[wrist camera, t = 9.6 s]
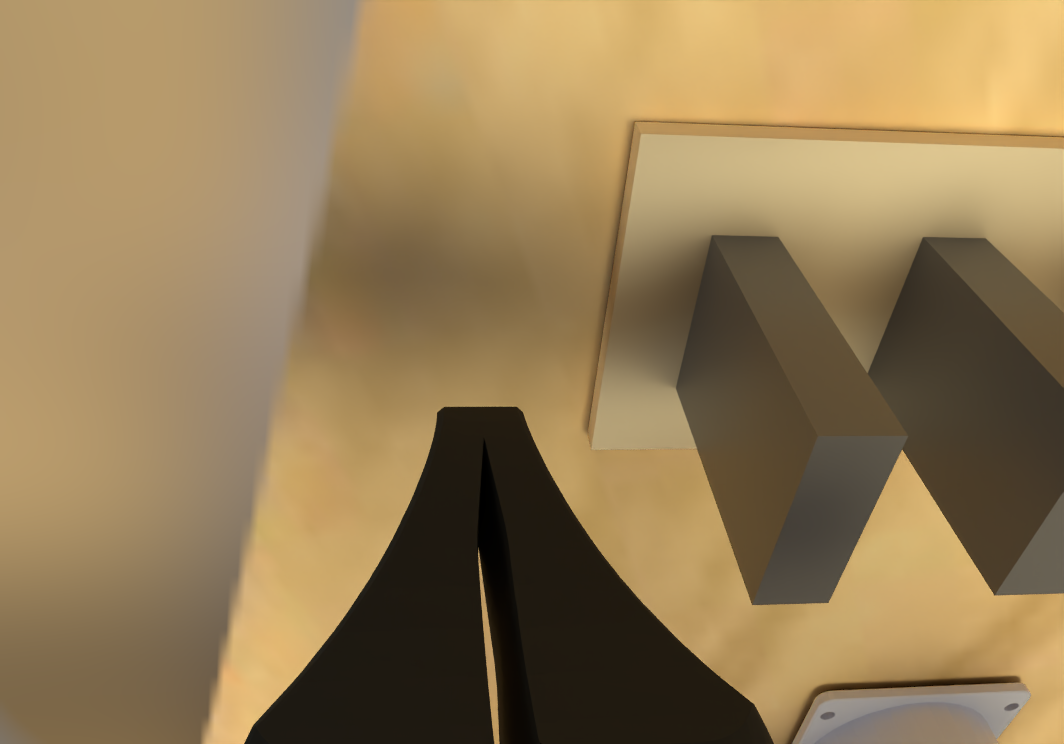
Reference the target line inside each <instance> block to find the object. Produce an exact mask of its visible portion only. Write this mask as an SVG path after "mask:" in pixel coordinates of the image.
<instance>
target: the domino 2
mask: <svg viewBox="0 0 1064 744" xmlns="http://www.w3.org/2000/svg"><path fill="white" fill-rule="evenodd" d="M868 375H869V376H870V378H871V380H872V381H873V383H874V384H875V386H876V387H877V389H878V390H879V392H880V393H881V395H882V396H883V398H884V399H885V401H886V403H887V404H888V406H889V407H890V409H891V410H892V412H893V413H894V415H895V416H896V418H897V419H898V421H899V422H900V424H901V425H902V427H903V429H904V430H905V432H906V433H907V435H908V438H907V440H906V442H905V444H904V446H903V448H902V450H903V451H904V453H905V454H906V456H907V458H908V459H909V461H910V462H911V464H912V466H913V467H914V469H915V470H916V472H917V473H918V475H919V477H920V478H921V480H922V481H923V483H924V485H925V486H926V488H927V489H928V491H929V492H930V494H931V496H932V497H933V499H934V500H935V502H936V503H937V505H938V507H939V508H940V510H941V511H942V513H943V515H944V516H945V518H946V519H947V521H948V522H949V524H950V526H951V527H952V529H953V530H954V532H955V534H956V535H957V537H958V538H959V540H960V541H961V543H962V545H963V546H964V548H965V549H966V551H967V553H968V554H969V556H970V557H971V559H972V560H973V562H974V564H975V565H976V567H977V568H978V570H979V571H980V573H981V575H982V576H983V578H984V579H985V581H986V583H987V584H988V586H989V587H990V589H991V590H992V592H993V594H994V595H1023V594H1056V593H1064V313H1063V312H1062V311H1061V310H1060V309H1059V308H1058V307H1057V306H1056V305H1055V304H1054V303H1053V302H1052V301H1051V300H1050V299H1049V298H1048V297H1047V296H1046V295H1045V294H1044V293H1043V292H1042V291H1040V290H1039V289H1038V288H1037V287H1036V286H1035V285H1034V284H1033V283H1032V282H1031V281H1030V280H1029V279H1028V278H1027V277H1026V276H1025V275H1024V274H1023V273H1022V272H1021V271H1020V270H1018V269H1017V268H1016V267H1015V266H1014V265H1013V264H1012V263H1011V262H1010V261H1009V260H1008V259H1007V258H1006V257H1005V256H1004V255H1003V254H1002V253H1001V252H1000V251H999V250H998V249H996V248H995V247H994V246H993V245H992V244H991V243H990V242H989V241H988V240H987V239H986V238H950V237H923V238H922V241H921V243H920V246H919V248H918V251H917V253H916V256H915V258H914V260H913V263H912V265H911V268H910V270H909V273H908V275H907V278H906V280H905V283H904V285H903V288H902V290H901V292H900V295H899V297H898V300H897V302H896V305H895V307H894V310H893V312H892V315H891V317H890V319H889V322H888V324H887V327H886V329H885V332H884V334H883V337H882V339H881V342H880V344H879V347H878V349H877V351H876V354H875V356H874V359H873V361H872V364H871V366H870V369H869V371H868Z"/></svg>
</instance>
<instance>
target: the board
mask: <svg viewBox="0 0 1064 744" xmlns="http://www.w3.org/2000/svg"><path fill="white" fill-rule="evenodd" d="M712 235H730V236H768V237H779V239H780V240H781V242H782V243H783V245H784V246H785V248H786V249H787V251H788V252H789V254H790V255H791V257H792V258H793V260H794V262H795V263H796V265H797V266H798V268H799V269H800V271H801V272H802V274H803V275H804V277H805V278H806V280H807V281H808V283H809V285H810V286H811V288H812V289H813V291H814V292H815V294H816V295H817V297H818V298H819V300H820V301H821V303H822V304H823V306H824V308H825V309H826V311H827V312H828V314H829V315H830V317H831V318H832V320H833V321H834V323H835V324H836V326H837V327H838V329H839V330H840V332H841V334H842V335H843V337H844V338H845V340H846V341H847V343H848V344H849V346H850V347H851V349H852V350H853V352H854V353H855V355H856V357H857V358H858V360H859V361H860V363H861V364H862V366H863V367H864V369H865V370H866V372H867V373H868V371H869V369H870V366H871V364H872V361H873V359H874V356H875V354H876V351H877V349H878V347H879V344H880V342H881V339H882V337H883V334H884V332H885V329H886V327H887V324H888V322H889V319H890V317H891V315H892V312H893V310H894V307H895V305H896V302H897V300H898V297H899V295H900V292H901V290H902V288H903V285H904V283H905V280H906V278H907V275H908V273H909V270H910V268H911V265H912V263H913V260H914V258H915V256H916V253H917V251H918V248H919V246H920V243H921V241H922V238H923V237H950V238H986V239H987V240H988V241H989V242H990V243H991V244H992V245H993V246H994V247H995V248H996V249H998V250H999V251H1000V252H1001V253H1002V254H1003V255H1004V256H1005V257H1006V258H1007V259H1008V260H1009V261H1010V262H1011V263H1012V264H1013V265H1014V266H1015V267H1016V268H1017V269H1018V270H1020V271H1021V272H1022V273H1023V274H1024V275H1025V276H1026V277H1027V278H1028V279H1029V280H1030V281H1031V282H1032V283H1033V284H1034V285H1035V286H1036V287H1037V288H1038V289H1039V290H1040V291H1042V292H1043V293H1044V294H1045V295H1046V296H1047V297H1048V298H1049V299H1050V300H1051V301H1052V302H1053V303H1054V304H1055V305H1056V306H1057V307H1058V308H1059V309H1060V310H1061V311H1062V312H1063V313H1064V137H1042V136H1015V135H988V134H960V133H933V132H906V131H879V130H852V129H825V128H798V127H771V126H744V125H717V124H690V123H663V122H636V121H635V126H634V132H633V139H632V145H631V152H630V159H629V165H628V172H627V178H626V185H625V191H624V198H623V205H622V211H621V218H620V224H619V231H618V237H617V244H616V251H615V257H614V264H613V270H612V277H611V283H610V290H609V296H608V303H607V310H606V316H605V323H604V329H603V336H602V342H601V349H600V356H599V362H598V369H597V375H596V382H595V388H594V395H593V402H592V408H591V415H590V421H589V428H588V437H589V442H590V447H591V450H646V449H697V447H696V444H695V441H694V439H693V436H692V433H691V430H690V427H689V424H688V422H687V419H686V416H685V413H684V410H683V407H682V405H681V402H680V399H679V396H678V393H677V390H676V385H677V381H678V377H679V372H680V368H681V364H682V360H683V355H684V351H685V347H686V343H687V339H688V334H689V330H690V326H691V322H692V317H693V313H694V309H695V305H696V300H697V296H698V292H699V288H700V284H701V279H702V275H703V271H704V267H705V262H706V258H707V254H708V250H709V245H710V241H711V237H712Z"/></svg>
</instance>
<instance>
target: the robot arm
mask: <svg viewBox="0 0 1064 744" xmlns="http://www.w3.org/2000/svg"><path fill="white" fill-rule="evenodd" d="M478 548H479V554H480V561H481V568H482V576H483V583H484V590H485V597H486V605H487V612H488V619H489V626H490V633H491V640H492V647H493V655H494V662H495V671H496V682H497V696H498V719H499V741H500V744H774V743H773V741H772V739H771V736H770V734H769V732H768V730H767V728H766V726H765V724H764V722H763V720H762V718H761V716H760V714H759V712H758V711H757V709H756V707H755V705H754V704H753V703H752V702H750V701H749V700H748V699H747V698H745V697H744V696H743V695H742V694H740V693H739V692H738V691H737V690H735V689H734V688H733V687H732V686H730V685H729V684H728V683H726V682H725V681H724V680H723V679H722V678H720V677H719V676H718V675H717V674H716V673H714V672H713V671H712V670H711V669H710V668H709V667H707V666H706V665H705V664H704V663H703V662H702V661H701V660H700V659H699V658H697V657H696V656H695V655H694V654H693V653H692V652H691V651H690V650H689V649H688V648H687V647H685V646H684V645H683V644H682V643H681V642H680V641H679V640H678V639H677V638H676V637H675V636H674V635H673V634H672V633H671V632H670V631H669V630H668V629H667V628H666V627H665V626H664V625H663V624H662V623H661V622H660V621H659V620H658V619H657V618H656V616H655V615H654V614H653V613H652V612H651V611H650V610H649V609H648V608H647V607H646V606H645V605H644V604H643V603H642V602H641V601H640V600H639V599H638V598H637V596H636V595H635V594H634V593H633V592H632V591H631V589H630V588H629V587H628V586H627V585H626V584H625V582H624V581H623V580H622V579H621V578H620V577H619V575H618V574H617V573H616V571H615V570H614V569H613V568H612V566H611V565H610V564H609V563H608V561H607V560H606V559H605V558H604V556H603V555H602V554H601V552H600V551H599V550H598V548H597V547H596V545H595V544H594V543H593V541H592V540H591V538H590V537H589V536H588V534H587V533H586V531H585V530H584V528H583V527H582V525H581V524H580V522H579V521H578V519H577V518H576V516H575V515H574V513H573V512H572V510H571V508H570V507H569V505H568V504H567V502H566V500H565V499H564V497H563V495H562V493H561V492H560V490H559V488H558V486H557V485H556V483H555V481H554V480H553V478H552V476H551V474H550V472H549V471H548V469H547V467H546V465H545V463H544V461H543V459H542V457H541V455H540V453H539V451H538V449H537V447H536V445H535V442H534V440H533V438H532V436H531V433H530V431H529V428H528V426H527V423H526V421H525V418H524V414H523V412H522V411H521V410H520V409H519V408H518V407H444V408H442V409H441V410H440V411H439V412H437V423H436V428H435V433H434V438H433V442H432V445H431V449H430V452H429V455H428V458H427V461H426V464H425V467H424V469H423V472H422V475H421V477H420V480H419V482H418V485H417V487H416V490H415V492H414V495H413V497H412V500H411V502H410V504H409V506H408V508H407V510H406V512H405V514H404V516H403V519H402V521H401V523H400V525H399V527H398V529H397V531H396V533H395V535H394V537H393V539H392V541H391V543H390V545H389V546H388V548H387V550H386V552H385V554H384V555H383V557H382V559H381V561H380V562H379V564H378V566H377V567H376V569H375V571H374V572H373V574H372V576H371V577H370V579H369V581H368V582H367V584H366V585H365V587H364V588H363V590H362V592H361V593H360V595H359V596H358V598H357V599H356V601H355V602H354V604H353V605H352V607H351V608H350V610H349V611H348V613H347V614H346V615H345V617H344V618H343V620H342V621H341V622H340V624H339V625H338V626H337V628H336V629H335V631H334V632H333V633H332V634H331V636H330V637H329V638H328V639H327V641H326V642H325V643H324V645H323V646H322V647H321V648H320V650H319V651H318V652H317V653H316V655H315V656H314V657H313V658H312V660H311V661H310V662H309V663H308V665H307V666H306V667H305V669H304V670H303V671H302V672H301V673H300V674H299V676H298V677H297V678H296V679H295V680H294V681H293V683H292V684H291V685H290V686H289V687H288V688H287V689H286V690H285V691H284V692H283V693H282V695H281V696H280V697H279V698H278V699H277V700H276V701H275V702H274V703H273V704H272V705H271V707H270V708H269V709H268V710H267V711H266V712H265V713H264V714H263V715H262V716H261V717H260V718H259V720H258V721H257V722H256V723H255V724H254V725H253V727H252V729H251V731H250V733H249V735H248V737H247V739H246V741H245V743H244V744H494V738H493V729H492V719H491V709H490V699H489V689H488V679H487V667H486V656H485V644H484V632H483V620H482V606H481V593H480V579H479V564H478ZM1030 696H1031V694H1030V691H1029V690H1028V688H1027V686H1026V685H1025V684H1023V683H1017V682H1016V683H994V684H971V685H948V686H925V687H903V688H880V689H857V690H834V691H826V692H823V693H821V694H819V695H818V696H817V697H816V698H815V700H814V702H813V704H812V706H811V708H810V709H809V711H808V713H807V715H806V717H805V719H804V721H803V723H802V725H801V727H800V729H799V731H798V733H797V735H796V737H795V739H794V741H793V743H792V744H999V743H998V741H997V738H998V737H999V736H1000V735H1001V733H1002V732H1003V731H1004V730H1005V728H1006V727H1007V726H1008V725H1009V723H1010V722H1011V721H1012V720H1013V718H1014V717H1015V716H1016V715H1017V713H1018V712H1019V711H1020V710H1021V708H1022V707H1023V706H1024V705H1025V704H1026V702H1027V701H1028V700H1029V698H1030Z"/></svg>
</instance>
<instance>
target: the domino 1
mask: <svg viewBox="0 0 1064 744" xmlns="http://www.w3.org/2000/svg"><path fill="white" fill-rule="evenodd" d="M676 390H677V393H678V396H679V399H680V402H681V405H682V407H683V410H684V413H685V416H686V419H687V422H688V424H689V427H690V430H691V433H692V436H693V439H694V441H695V444H696V447H697V450H698V453H699V456H700V458H701V461H702V464H703V467H704V470H705V473H706V475H707V478H708V481H709V484H710V487H711V490H712V492H713V495H714V498H715V501H716V504H717V507H718V509H719V512H720V515H721V518H722V521H723V523H724V526H725V529H726V532H727V535H728V538H729V540H730V543H731V546H732V549H733V552H734V555H735V557H736V560H737V563H738V566H739V569H740V572H741V574H742V577H743V580H744V583H745V586H746V589H747V591H748V594H749V597H750V600H751V603H752V605H770V604H806V603H828V602H829V600H830V598H831V596H832V594H833V592H834V590H835V588H836V586H837V584H838V582H839V580H840V577H841V575H842V573H843V571H844V569H845V567H846V565H847V563H848V561H849V559H850V557H851V554H852V552H853V550H854V548H855V546H856V544H857V542H858V540H859V538H860V536H861V534H862V532H863V529H864V527H865V525H866V523H867V521H868V519H869V517H870V515H871V513H872V511H873V509H874V507H875V504H876V502H877V500H878V498H879V496H880V494H881V492H882V490H883V488H884V486H885V484H886V482H887V479H888V477H889V475H890V473H891V471H892V469H893V467H894V465H895V463H896V461H897V459H898V456H899V454H900V452H901V450H902V448H903V446H904V444H905V442H906V440H907V438H908V435H907V433H906V432H905V430H904V429H903V427H902V425H901V424H900V422H899V421H898V419H897V418H896V416H895V415H894V413H893V412H892V410H891V409H890V407H889V406H888V404H887V403H886V401H885V399H884V398H883V396H882V395H881V393H880V392H879V390H878V389H877V387H876V386H875V384H874V383H873V381H872V380H871V378H870V376H869V375H868V373H867V372H866V370H865V369H864V367H863V366H862V364H861V363H860V361H859V360H858V358H857V357H856V355H855V353H854V352H853V350H852V349H851V347H850V346H849V344H848V343H847V341H846V340H845V338H844V337H843V335H842V334H841V332H840V330H839V329H838V327H837V326H836V324H835V323H834V321H833V320H832V318H831V317H830V315H829V314H828V312H827V311H826V309H825V308H824V306H823V304H822V303H821V301H820V300H819V298H818V297H817V295H816V294H815V292H814V291H813V289H812V288H811V286H810V285H809V283H808V281H807V280H806V278H805V277H804V275H803V274H802V272H801V271H800V269H799V268H798V266H797V265H796V263H795V262H794V260H793V258H792V257H791V255H790V254H789V252H788V251H787V249H786V248H785V246H784V245H783V243H782V242H781V240H780V239H779V237H768V236H730V235H712V237H711V241H710V245H709V250H708V254H707V258H706V262H705V267H704V271H703V275H702V279H701V284H700V288H699V292H698V296H697V300H696V305H695V309H694V313H693V317H692V322H691V326H690V330H689V334H688V339H687V343H686V347H685V351H684V355H683V360H682V364H681V368H680V372H679V377H678V381H677V385H676Z"/></svg>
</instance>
